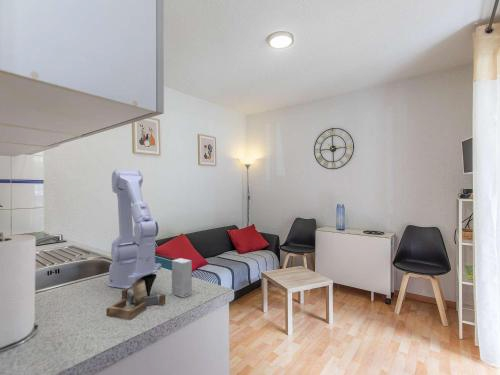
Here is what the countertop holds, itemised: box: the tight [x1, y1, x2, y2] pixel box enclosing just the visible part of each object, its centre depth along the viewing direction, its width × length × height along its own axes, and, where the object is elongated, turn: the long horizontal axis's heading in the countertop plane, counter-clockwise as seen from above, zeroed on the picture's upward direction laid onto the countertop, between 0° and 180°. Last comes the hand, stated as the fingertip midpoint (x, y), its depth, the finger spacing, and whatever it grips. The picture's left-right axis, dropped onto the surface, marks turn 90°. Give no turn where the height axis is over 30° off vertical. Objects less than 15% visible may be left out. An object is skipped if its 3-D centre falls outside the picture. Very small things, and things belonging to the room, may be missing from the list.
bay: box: [106, 299, 147, 321], centre depth 80 cm, size 8×7×2 cm
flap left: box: [126, 290, 135, 304], centre depth 87 cm, size 5×1×3 cm, turn 40°
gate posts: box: [121, 288, 166, 306], centre depth 87 cm, size 16×1×3 cm, turn 75°
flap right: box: [143, 294, 160, 306], centre depth 85 cm, size 5×1×3 cm, turn 111°
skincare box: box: [171, 257, 193, 298], centre depth 93 cm, size 6×4×12 cm
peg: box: [131, 279, 148, 306], centre depth 85 cm, size 4×4×7 cm
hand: (145, 296), depth 88 cm, fingers closed
